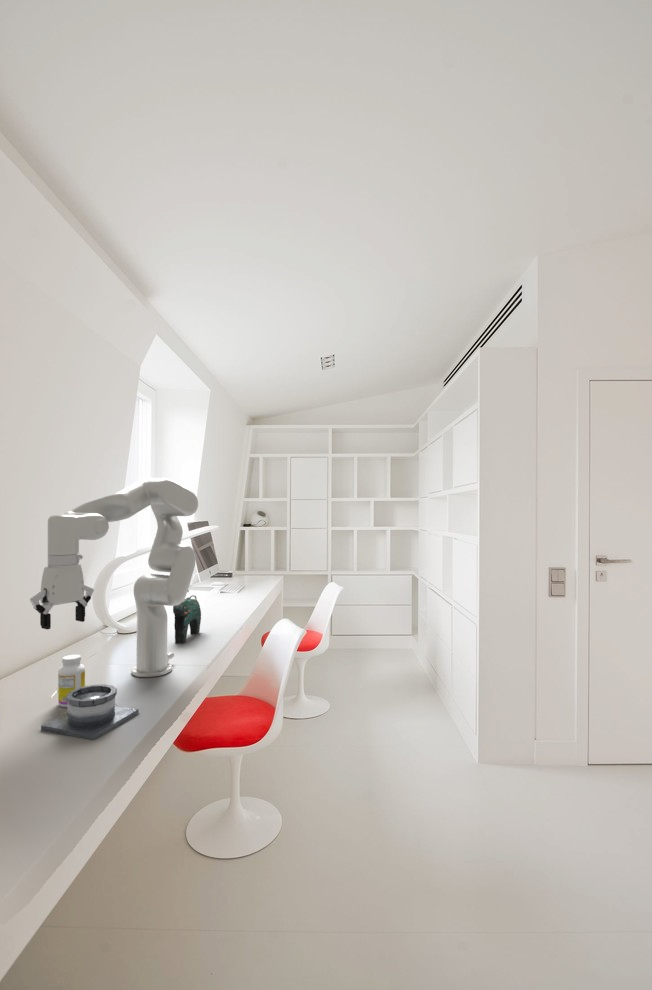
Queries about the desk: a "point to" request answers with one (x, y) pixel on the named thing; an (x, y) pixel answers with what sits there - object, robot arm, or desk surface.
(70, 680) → the supplement bottle
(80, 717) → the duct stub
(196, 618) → the green elephant figurine
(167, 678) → the desk surface
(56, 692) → the picture light
